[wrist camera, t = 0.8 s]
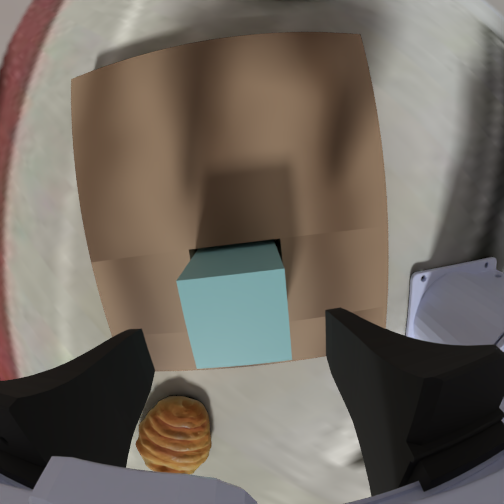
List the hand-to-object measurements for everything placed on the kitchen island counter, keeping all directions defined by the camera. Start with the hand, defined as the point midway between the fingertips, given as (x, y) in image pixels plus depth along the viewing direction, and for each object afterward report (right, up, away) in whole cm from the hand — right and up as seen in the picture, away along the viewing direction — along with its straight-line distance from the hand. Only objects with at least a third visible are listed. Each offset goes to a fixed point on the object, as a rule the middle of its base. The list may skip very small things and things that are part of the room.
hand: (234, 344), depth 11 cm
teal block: (0, +2, +9) cm, 9 cm away
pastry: (-6, -13, +13) cm, 19 cm away
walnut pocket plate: (-1, +6, +7) cm, 10 cm away
